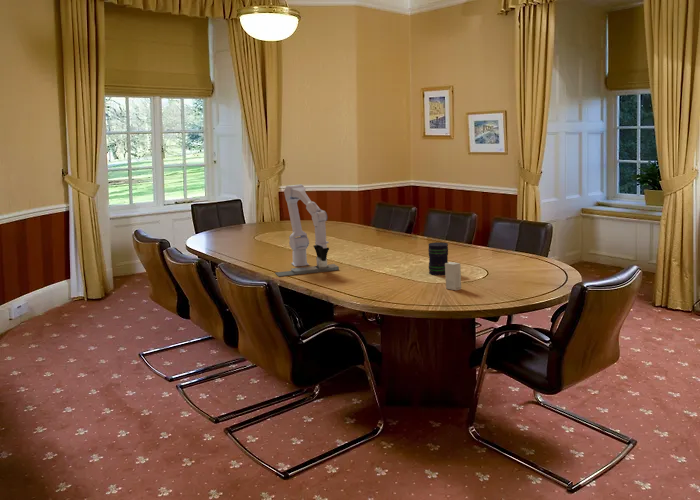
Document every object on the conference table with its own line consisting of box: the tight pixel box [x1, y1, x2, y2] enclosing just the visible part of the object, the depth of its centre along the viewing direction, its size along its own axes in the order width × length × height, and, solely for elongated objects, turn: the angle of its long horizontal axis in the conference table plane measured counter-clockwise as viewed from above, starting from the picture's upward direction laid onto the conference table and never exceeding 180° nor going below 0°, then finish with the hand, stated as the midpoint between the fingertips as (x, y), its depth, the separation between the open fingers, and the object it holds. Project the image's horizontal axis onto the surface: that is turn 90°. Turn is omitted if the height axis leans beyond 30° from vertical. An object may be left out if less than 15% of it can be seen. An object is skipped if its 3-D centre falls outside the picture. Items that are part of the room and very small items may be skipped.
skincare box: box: [444, 261, 462, 291], centre depth 314 cm, size 6×4×12 cm
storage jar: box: [427, 241, 449, 276], centre depth 346 cm, size 10×10×15 cm
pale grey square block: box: [316, 256, 328, 269], centre depth 364 cm, size 4×4×7 cm
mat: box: [274, 270, 297, 278], centre depth 358 cm, size 9×9×1 cm
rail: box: [290, 263, 340, 276], centre depth 363 cm, size 8×24×2 cm, turn 108°
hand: (321, 259), depth 363 cm, fingers open, 7 cm apart
